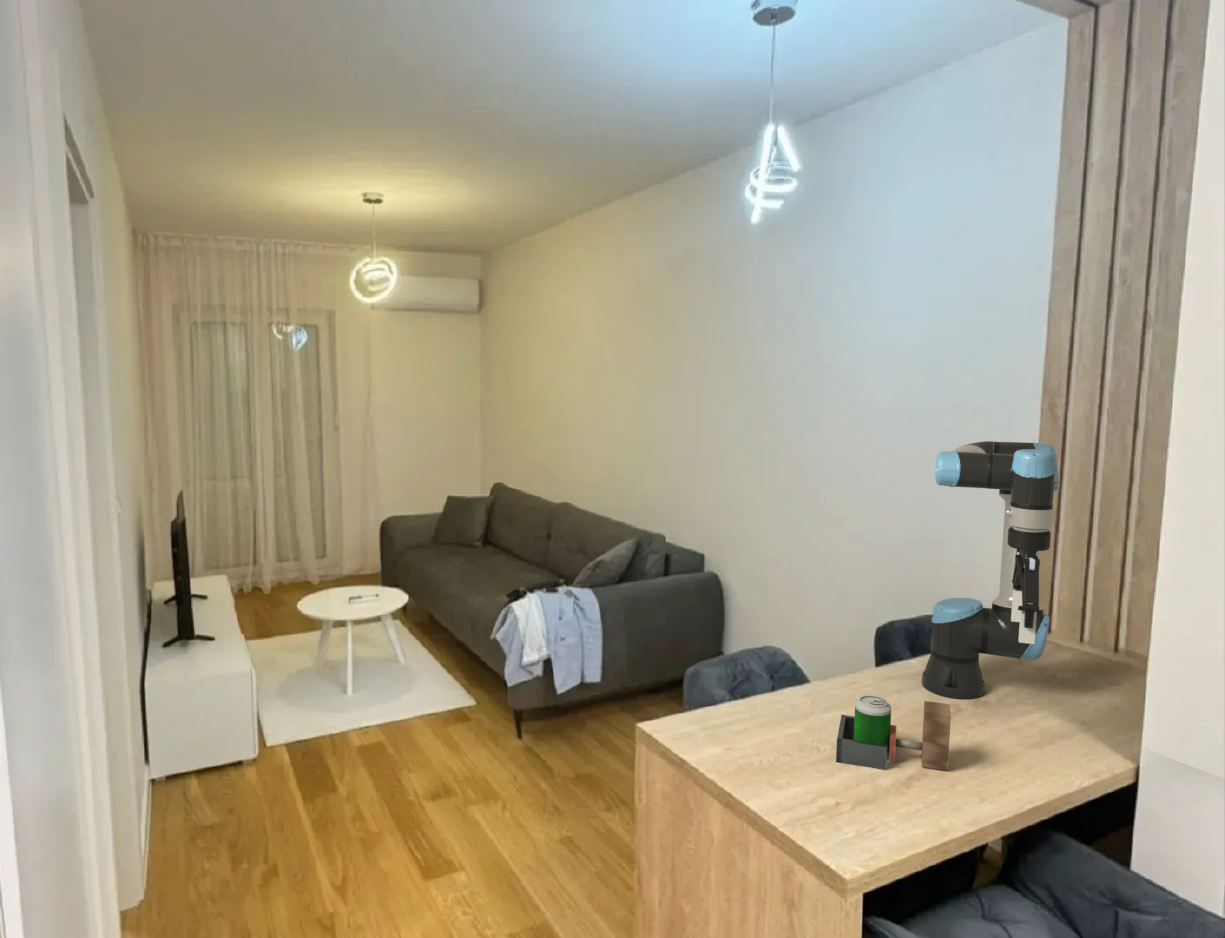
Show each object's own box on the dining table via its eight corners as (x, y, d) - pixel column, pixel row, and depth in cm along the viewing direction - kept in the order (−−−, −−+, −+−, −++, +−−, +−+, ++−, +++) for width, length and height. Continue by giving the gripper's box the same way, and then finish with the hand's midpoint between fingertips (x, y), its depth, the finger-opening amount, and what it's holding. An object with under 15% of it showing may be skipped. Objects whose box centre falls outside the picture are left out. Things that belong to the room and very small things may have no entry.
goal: (887, 742, 181) (888, 721, 181) (886, 770, 169) (887, 747, 169) (840, 735, 185) (841, 714, 184) (836, 762, 173) (836, 739, 172)
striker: (946, 756, 174) (949, 703, 173) (947, 771, 168) (951, 716, 166) (889, 747, 178) (891, 695, 177) (888, 762, 172) (891, 708, 170)
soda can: (891, 763, 172) (894, 709, 170) (854, 760, 173) (857, 706, 172) (886, 746, 179) (889, 695, 178) (851, 743, 181) (853, 692, 179)
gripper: (1002, 515, 173) (996, 611, 176) (1015, 539, 150) (1008, 650, 153) (1041, 518, 170) (1034, 615, 173) (1061, 542, 147) (1052, 655, 150)
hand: (1022, 632), depth 163 cm, fingers open, 13 cm apart
